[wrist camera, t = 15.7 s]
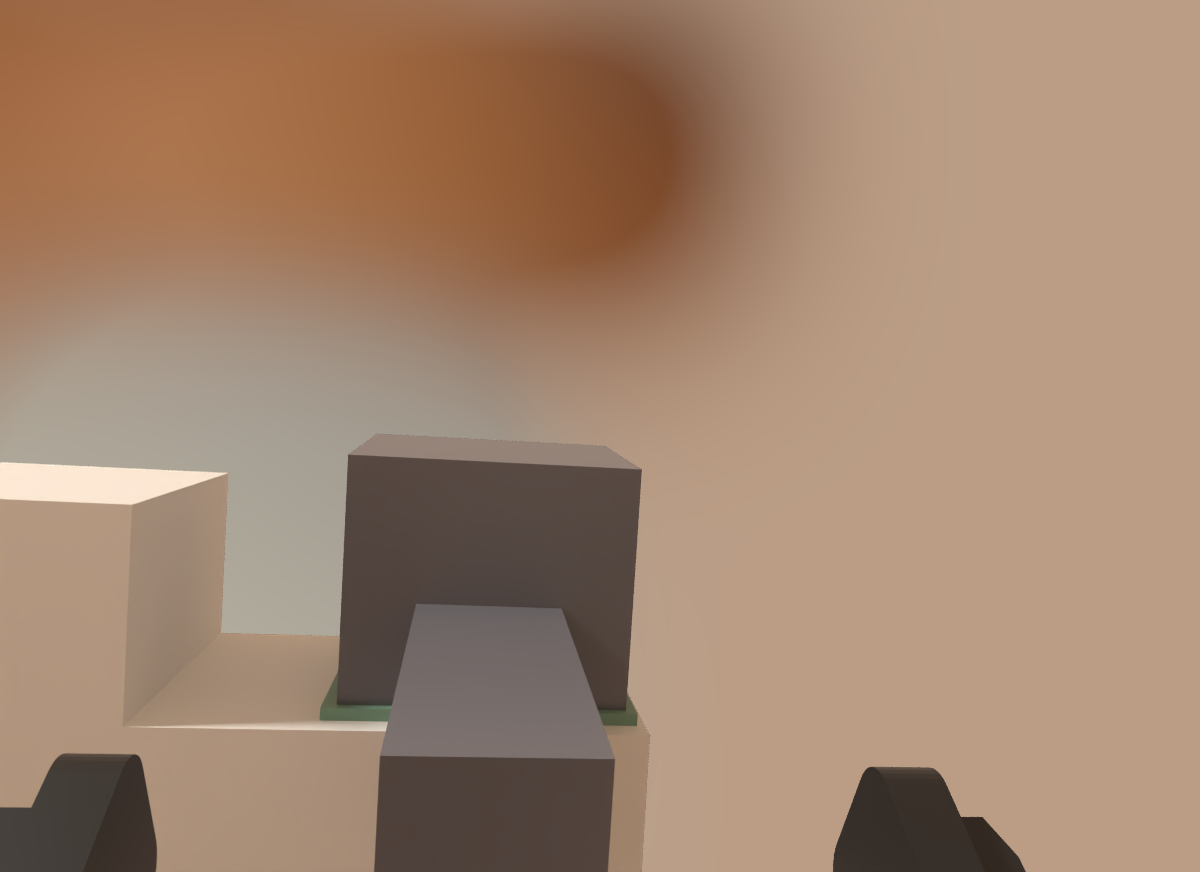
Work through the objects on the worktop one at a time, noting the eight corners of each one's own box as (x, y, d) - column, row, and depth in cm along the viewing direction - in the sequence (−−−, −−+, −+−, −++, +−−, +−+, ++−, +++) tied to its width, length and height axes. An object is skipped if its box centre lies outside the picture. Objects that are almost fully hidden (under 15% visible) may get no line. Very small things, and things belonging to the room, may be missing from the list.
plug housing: (249, 921, 15) (266, 514, 14) (366, 628, 31) (376, 434, 31) (716, 918, 16) (743, 535, 15) (593, 634, 32) (605, 445, 32)
